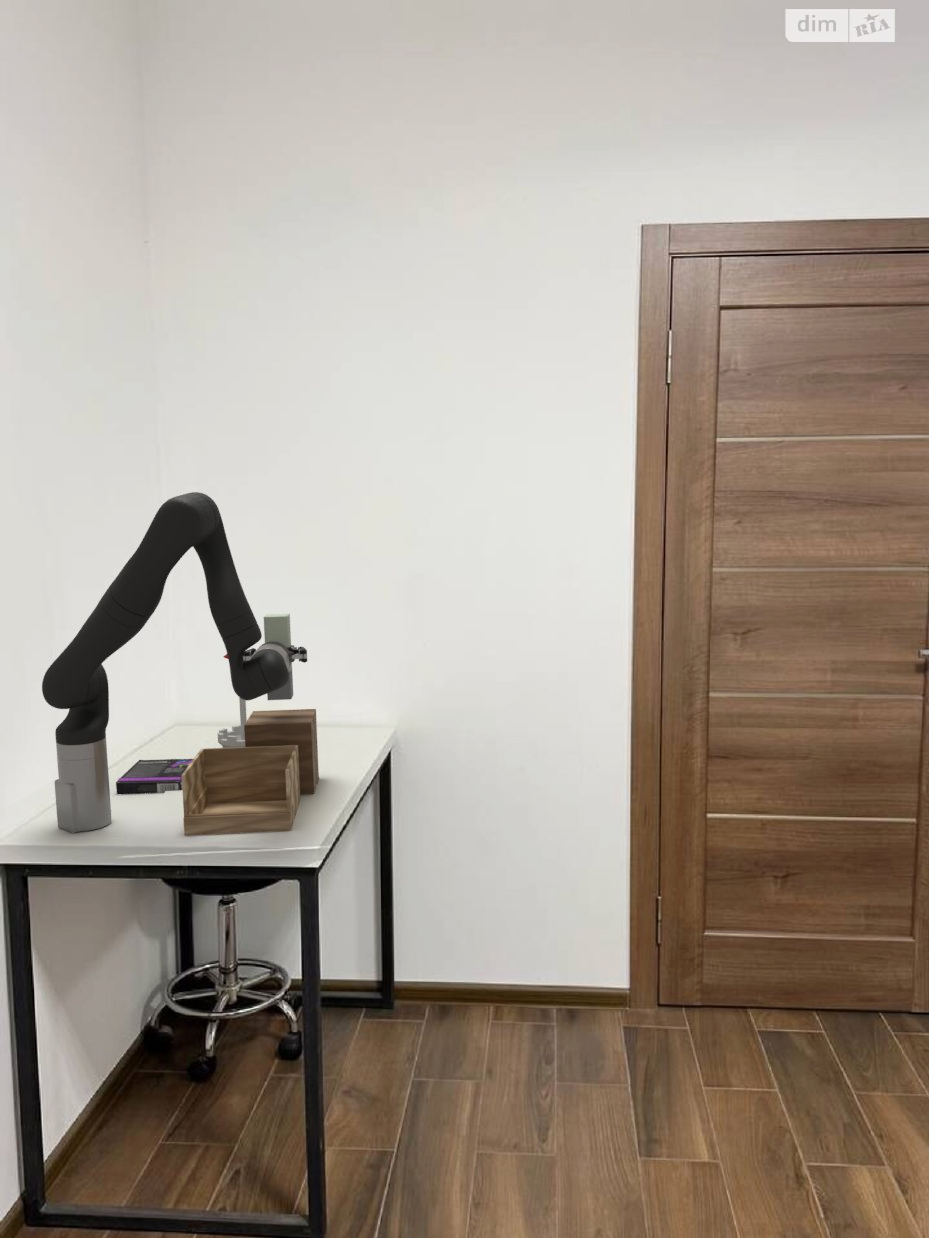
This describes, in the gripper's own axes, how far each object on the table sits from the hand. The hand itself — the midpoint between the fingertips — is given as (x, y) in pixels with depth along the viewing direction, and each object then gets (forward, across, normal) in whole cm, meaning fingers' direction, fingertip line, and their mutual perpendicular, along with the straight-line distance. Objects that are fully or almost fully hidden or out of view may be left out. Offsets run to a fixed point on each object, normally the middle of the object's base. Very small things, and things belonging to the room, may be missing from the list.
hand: (279, 650), depth 223 cm
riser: (-2, 0, +30) cm, 30 cm away
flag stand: (+32, +14, +30) cm, 46 cm away
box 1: (+8, +29, +31) cm, 43 cm away
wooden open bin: (-22, +6, +30) cm, 38 cm away
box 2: (-3, 0, +10) cm, 10 cm away
